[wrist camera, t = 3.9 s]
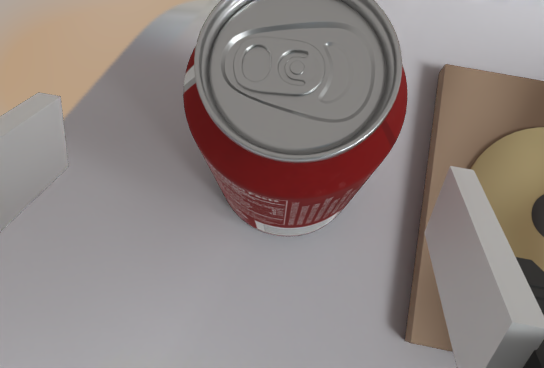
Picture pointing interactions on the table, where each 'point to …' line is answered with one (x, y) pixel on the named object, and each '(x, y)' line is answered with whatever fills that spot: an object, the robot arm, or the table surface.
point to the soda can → (294, 105)
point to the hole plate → (482, 174)
